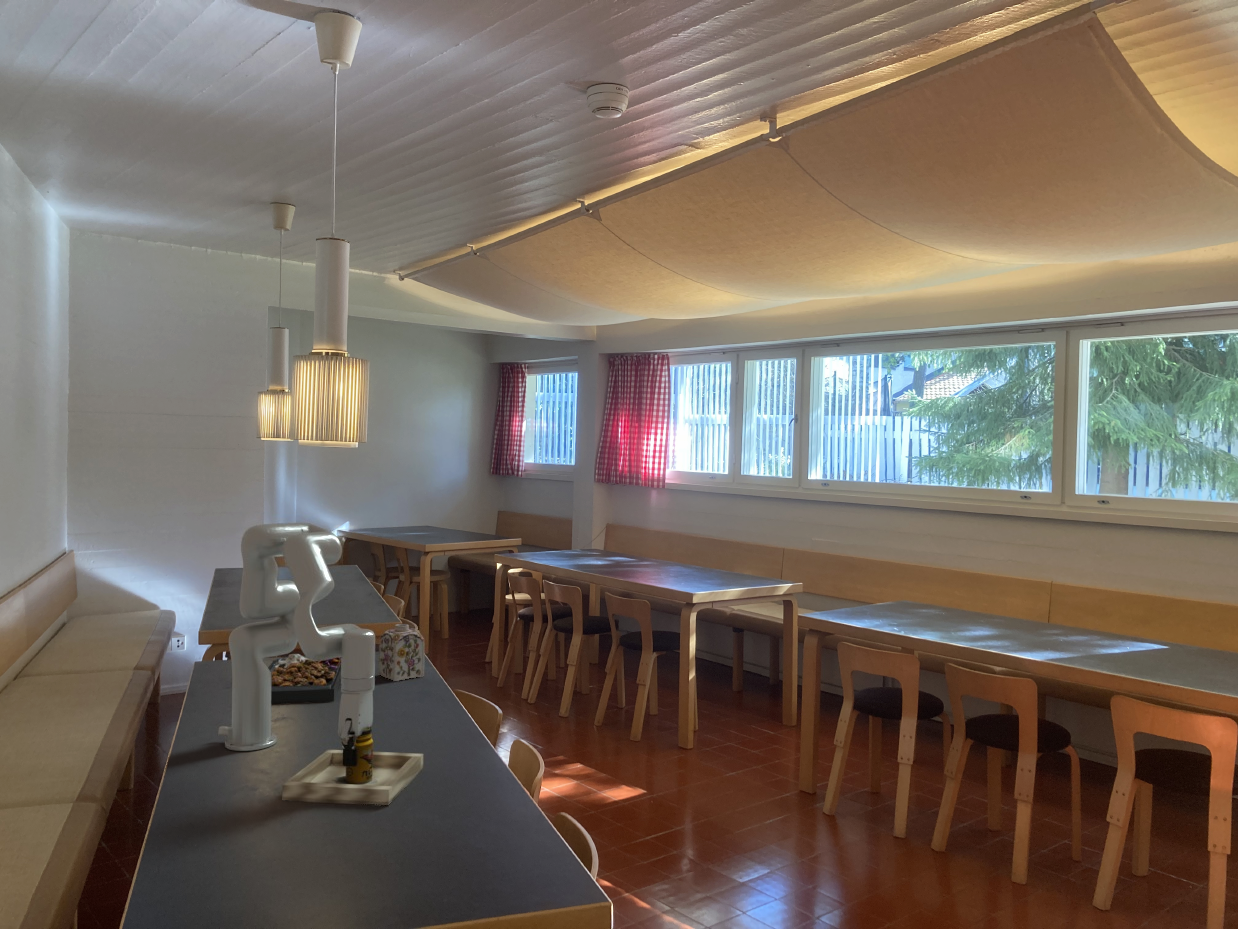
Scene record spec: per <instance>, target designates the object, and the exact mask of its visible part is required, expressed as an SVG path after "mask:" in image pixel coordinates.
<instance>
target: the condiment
mask: <svg viewBox="0 0 1238 929" xmlns="http://www.w3.org/2000/svg"><path fill="white" fill-rule="evenodd" d="M372 731H373V729H372V727H371V728H370V727H368V728H367V729H366V730H364V731H363V732H362V734H361V735H359V736H358V738H357V743H356V748H357V765H356V766H355V767H353V766H346V776H342V777H335V778H333V780H334V781H335V783H336V784H353V785H365V784H370V783H375V782H378V781H377V780H376V779H375V778H374V777H373V776H372V775H373V752H374V740H373V735H372ZM349 734H355V733H352V732H350V733H349ZM349 739H351V741H352V743H353V738H349Z"/></svg>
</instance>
